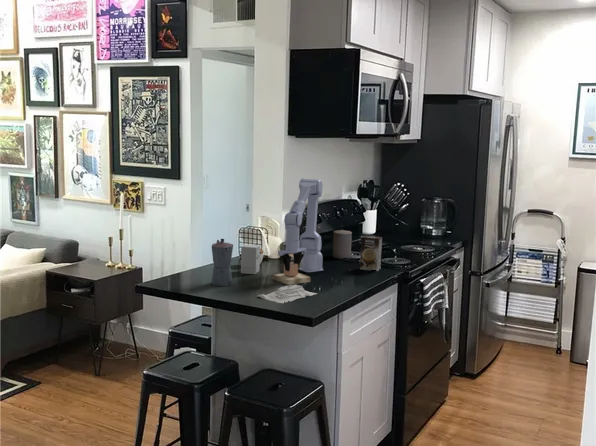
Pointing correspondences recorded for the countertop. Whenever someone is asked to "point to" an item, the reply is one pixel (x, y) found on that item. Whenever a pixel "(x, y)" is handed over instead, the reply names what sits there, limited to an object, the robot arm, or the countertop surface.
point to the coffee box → (370, 253)
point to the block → (292, 269)
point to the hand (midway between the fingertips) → (291, 269)
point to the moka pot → (222, 263)
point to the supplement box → (250, 259)
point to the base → (291, 278)
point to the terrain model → (287, 294)
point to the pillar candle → (342, 244)
